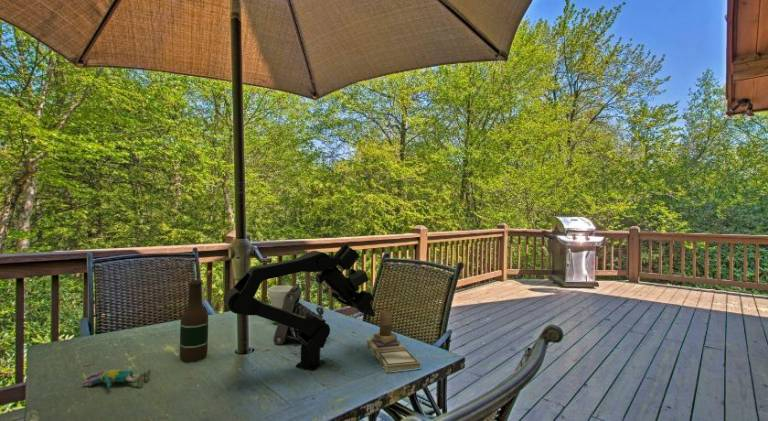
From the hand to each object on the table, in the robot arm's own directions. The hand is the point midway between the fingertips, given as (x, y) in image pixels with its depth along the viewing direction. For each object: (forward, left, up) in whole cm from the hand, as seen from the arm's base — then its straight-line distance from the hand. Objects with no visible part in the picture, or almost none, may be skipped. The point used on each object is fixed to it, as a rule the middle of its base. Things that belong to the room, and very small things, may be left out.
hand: (366, 312), depth 124 cm
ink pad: (+6, -5, -11) cm, 14 cm away
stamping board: (+1, -9, -13) cm, 16 cm away
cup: (+17, +44, -14) cm, 49 cm away
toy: (-45, +53, -14) cm, 71 cm away
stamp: (+6, -5, -11) cm, 13 cm away
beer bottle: (-24, +48, -14) cm, 55 cm away
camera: (+2, +26, -14) cm, 29 cm away
